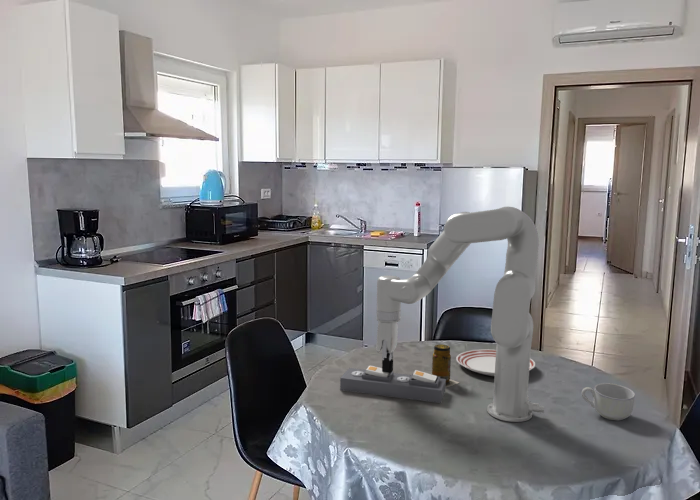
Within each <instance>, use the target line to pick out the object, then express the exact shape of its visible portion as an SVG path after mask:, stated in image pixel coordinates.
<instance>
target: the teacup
mask: <svg viewBox="0 0 700 500" xmlns="http://www.w3.org/2000/svg"><path fill="white" fill-rule="evenodd" d="M587 392H590V393H591V394H592V398H593V400H591V399H589V398H588V397H587V396H586V393H587ZM581 397H582V399H583V400H584V401H585V402H586V403H587V404H589V405H590V407H592V408H593V409H595V411H596V412H597V413H598V414H599V415H600V416H601V417H603V418H604V419H607V420H610V421H622V420H625V419H627V418H629V417H630V416H631V415H632V413H633V409H634V405H635V397H636V393H635V391H633V389H630V388H629V387H627V386H624V385H620V384H618V383H617V384H616V383H612V382H611V383H609V382H601V383H598V384H596V385H595V386H594V388H592V387H589V386H587V387H586V386H585V387H584V388H582V390H581Z"/></svg>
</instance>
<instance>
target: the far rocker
mask: <svg viewBox="0 0 700 500" xmlns="http://www.w3.org/2000/svg"><path fill="white" fill-rule="evenodd" d="M365 370H366V374H371V375H375V376H382V377H388V375H389V374H390V373H388V372H382V367H378V366H374V365H368V366H367V368H366V369H365Z"/></svg>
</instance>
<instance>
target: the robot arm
mask: <svg viewBox="0 0 700 500" xmlns="http://www.w3.org/2000/svg"><path fill="white" fill-rule="evenodd" d="M443 229H444V230H442V232H441V233H440V235H439V236H438V237H436V239H435V240H434V242H432V244H431V245H430V246H429V247H428V253H427V257H426V259H425V260H424V262H423V263H422V265H421V266H420V267H419V268H418V270H417V271H415V273H414V274H413V275H412V276H410V277H408V278H405V279H401V278H400V277H399V276H396V275H382V276H379V277H378V278H377V281H376V321H378V324H377V332H376V345H375V346H376V349H375V351H376V353H380V352H381V353H382V354H381V357H382V358H381V359H382V360H381V368H382V372H388V373H392V371H394V350H395V349H396V348H397V346H398V337H399V336H398V335H399V334H398V330H399V329H398V322H400V321H401V318H402V317H401V313H402V312H401V311H402V309H401V307H402V304H405V305H413V304H415V303H417V302H419V301H420V300H422V299H424V298H425V297H427V296H428V294H430V293H431V292H432V290H433V289H434V288H435V287H436V286H437V284H439V283H440V282H441V280H442V279H443V277H444V276H445V275H446V274H447V273H448V271H450V269H451V267H453V265H454V263H456V261H457V260H458V259H459V258H460V257H461V255H462V254H463V253H464V252H465V251H466V249H467V248H468V247H469V246H470V245H471V244H476V243H487V242H488V243H489V242H496V241H503V240H506V241H507V249H506V253H505V265H504V272H503V276H502V277H501V278H500V279H499V280H498V282H497V283H496V286H495V288H494V294H493V303H492V315H491V321H490V322H491V323H490V332H491V336H492V338H493V340H494V341H495V343H496V347H495V348H496V349H495V350H496V360H495V376H494V379H493V381H494V382H493V396H492V397H493V400H492V402H491V403H489V404H488V405H487V412H488V414H489V415H490V416H492V417H493V418H496V419H497V420H501V421H504V422H511V423H520V422H526V421H529V420H531V419H532V417H533V413H534V412H535V413H540V414H544V413H545V412H544V409H545V406H544V405H540V402H539V403H538V402H531V401H529V400H530V398H529V396H528V395H529V381H530V380H529V379H530V371H529V368H530V358H531V355H532V354H531V353H532V352H531V350H532V342H533V335H534V320H533V317H532V314H531V313H530V308H531V307H530V306H531V305H530V304H531V299H532V298H533V296H534V295H535V293H536V279H537V268H538V257H539V256H538V255H539V245H540V244H539V242H540V241H539V232H538V229H537V226H536V224H535V223H534V221H533V219H531V217H530V216H529V215H528V214H527V213H525V212H524V211H522V210H521V209H519V208H517V207H514V206H503V207H499V208H495V209H488V210H481V211H474V212H473V211H472V212H470V211H460V212H457V213H456V212H455V213H454V214H452V215H451V216H449V217H448V218H447V220H446V221H445V223H444V227H443Z"/></svg>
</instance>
